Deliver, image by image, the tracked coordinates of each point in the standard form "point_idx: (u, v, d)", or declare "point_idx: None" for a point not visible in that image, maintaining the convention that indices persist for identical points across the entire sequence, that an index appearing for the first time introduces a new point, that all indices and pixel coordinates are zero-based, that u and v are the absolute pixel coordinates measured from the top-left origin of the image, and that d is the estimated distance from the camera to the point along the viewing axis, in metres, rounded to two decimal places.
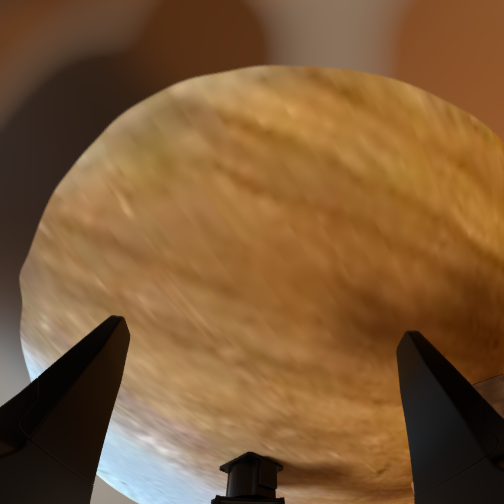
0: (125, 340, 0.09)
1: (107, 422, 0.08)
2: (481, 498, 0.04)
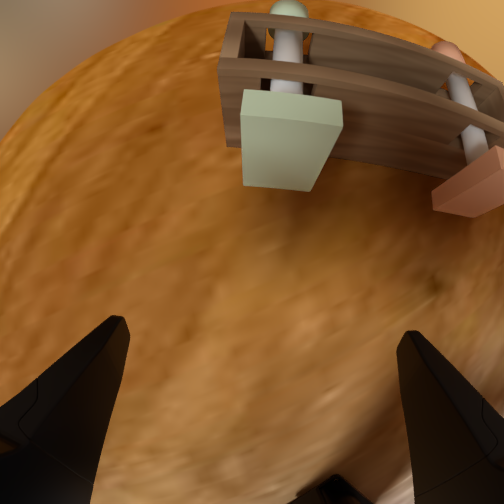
0: (125, 340, 0.09)
1: (107, 422, 0.08)
2: (481, 498, 0.04)
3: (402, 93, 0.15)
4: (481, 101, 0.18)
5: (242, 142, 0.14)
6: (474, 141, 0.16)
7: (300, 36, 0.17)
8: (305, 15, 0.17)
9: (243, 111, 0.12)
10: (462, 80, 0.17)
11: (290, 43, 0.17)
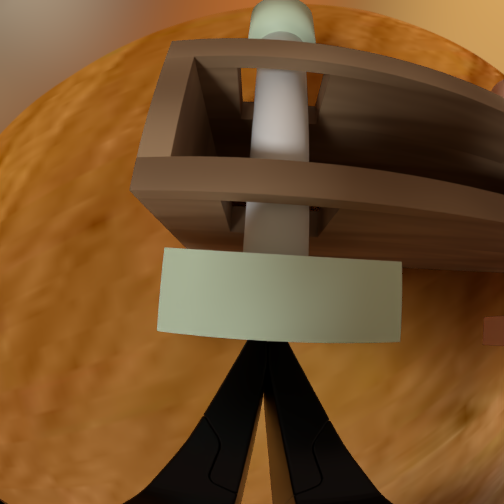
0: None
1: (253, 445, 0.07)
2: None
3: (490, 215, 0.07)
4: None
5: None
6: None
7: None
8: (308, 21, 0.11)
9: (163, 321, 0.05)
10: None
11: (284, 73, 0.10)
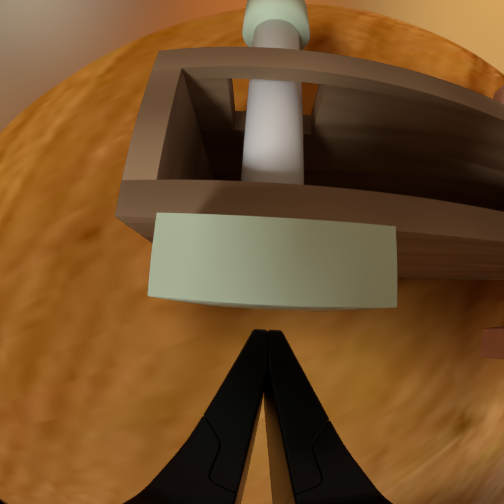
0: None
1: (253, 445, 0.07)
2: None
3: (492, 235, 0.07)
4: None
5: None
6: None
7: (295, 44, 0.10)
8: (302, 9, 0.10)
9: (154, 285, 0.05)
10: None
11: None
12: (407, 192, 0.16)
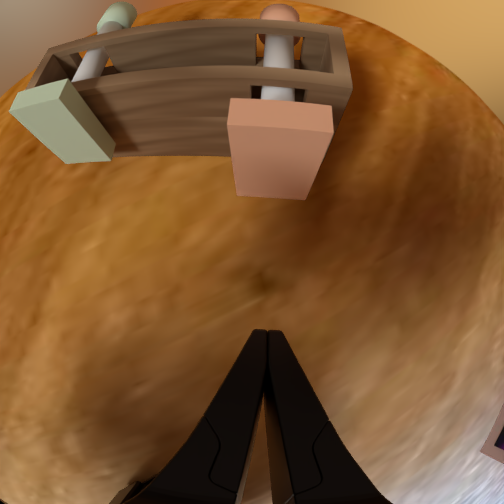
0: None
1: (253, 444, 0.07)
2: None
3: (148, 79, 0.15)
4: (319, 58, 0.18)
5: None
6: None
7: None
8: (124, 12, 0.18)
9: (10, 108, 0.13)
10: (277, 40, 0.17)
11: None
12: None
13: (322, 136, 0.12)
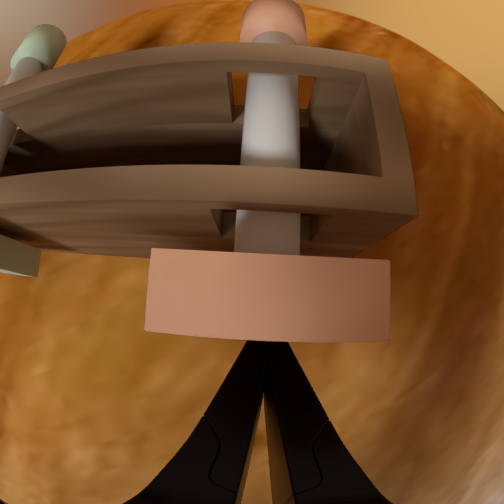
0: None
1: (253, 445, 0.07)
2: None
3: (31, 197, 0.08)
4: (343, 113, 0.11)
5: None
6: None
7: (24, 75, 0.11)
8: (43, 40, 0.11)
9: None
10: None
11: None
12: None
13: None
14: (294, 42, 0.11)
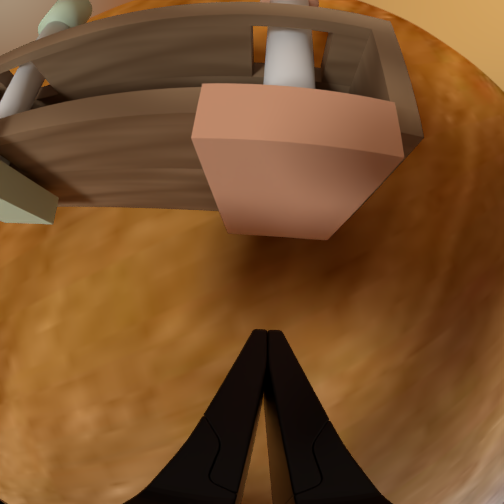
0: None
1: (253, 445, 0.07)
2: None
3: (65, 119, 0.08)
4: (353, 68, 0.11)
5: None
6: None
7: None
8: (72, 7, 0.11)
9: None
10: None
11: None
12: None
13: (381, 162, 0.06)
14: None
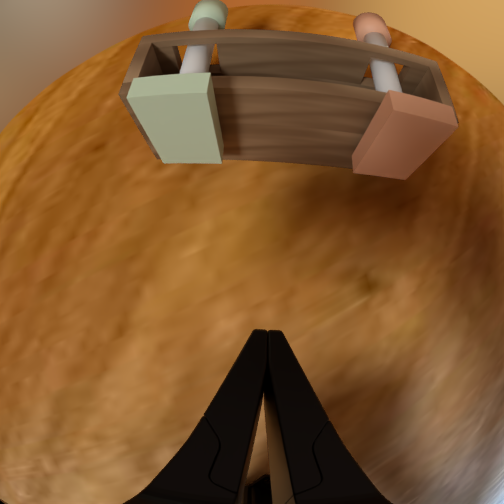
0: None
1: (253, 444, 0.07)
2: None
3: (293, 88, 0.16)
4: (415, 85, 0.19)
5: (140, 121, 0.16)
6: None
7: (212, 29, 0.19)
8: (220, 10, 0.19)
9: (129, 94, 0.14)
10: (380, 45, 0.18)
11: None
12: None
13: (450, 128, 0.14)
14: (385, 39, 0.19)
